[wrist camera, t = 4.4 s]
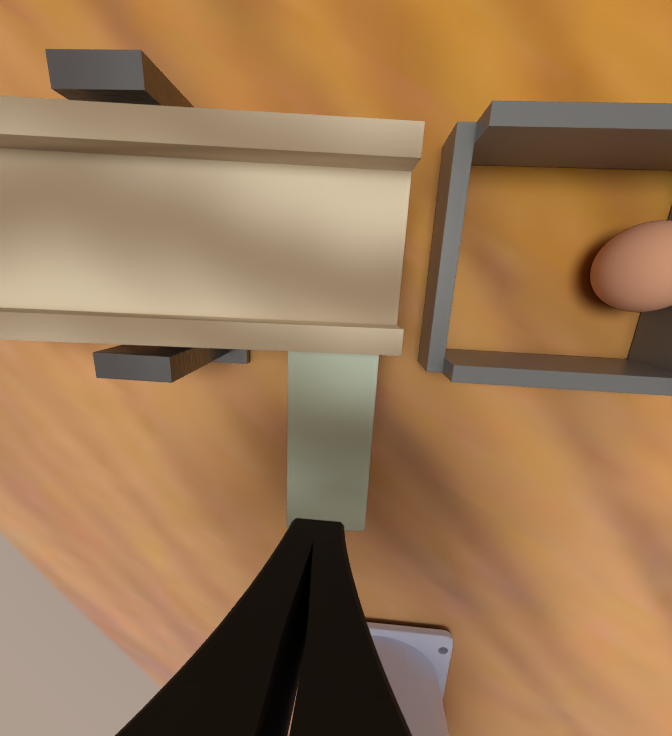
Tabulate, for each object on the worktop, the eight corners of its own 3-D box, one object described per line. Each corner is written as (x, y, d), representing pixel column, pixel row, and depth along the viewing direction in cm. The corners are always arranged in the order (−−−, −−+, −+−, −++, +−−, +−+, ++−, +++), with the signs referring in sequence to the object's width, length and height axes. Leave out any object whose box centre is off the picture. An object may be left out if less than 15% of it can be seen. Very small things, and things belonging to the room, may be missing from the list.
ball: (588, 310, 11) (575, 306, 13) (714, 318, 9) (672, 313, 12) (612, 214, 10) (593, 230, 13) (753, 207, 9) (700, 227, 11)
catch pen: (638, 373, 13) (752, 410, 10) (417, 360, 14) (441, 390, 10) (705, 151, 11) (887, 83, 7) (442, 145, 12) (484, 77, 8)
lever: (374, 513, 13) (383, 564, 11) (-20, 502, 13) (-101, 552, 10) (406, 153, 10) (430, 110, 7) (-128, 122, 9) (-285, 67, 7)
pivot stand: (249, 361, 14) (198, 398, 10) (164, 356, 15) (74, 389, 10) (243, 125, 12) (171, 26, 7) (141, 123, 12) (10, 26, 8)
